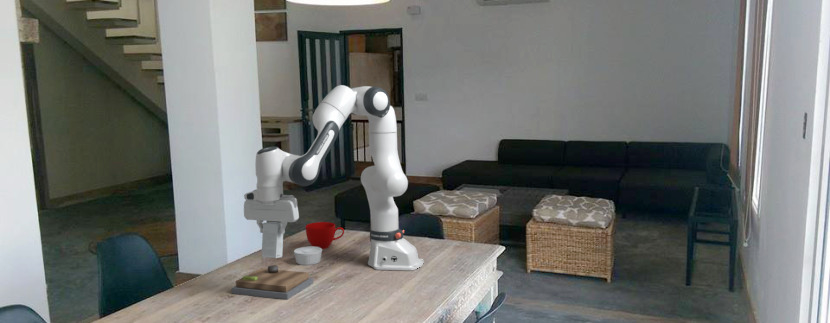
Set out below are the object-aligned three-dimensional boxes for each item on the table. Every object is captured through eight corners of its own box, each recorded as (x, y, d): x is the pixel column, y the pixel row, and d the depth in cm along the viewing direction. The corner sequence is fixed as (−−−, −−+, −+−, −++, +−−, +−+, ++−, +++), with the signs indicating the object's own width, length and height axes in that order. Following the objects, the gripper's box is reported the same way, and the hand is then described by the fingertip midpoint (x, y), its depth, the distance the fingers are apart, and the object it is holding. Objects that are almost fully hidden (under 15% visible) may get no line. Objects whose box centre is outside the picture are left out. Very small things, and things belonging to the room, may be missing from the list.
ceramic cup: (342, 250, 271) (342, 228, 270) (303, 251, 272) (302, 228, 270) (346, 243, 284) (345, 221, 283) (309, 243, 285) (308, 222, 283)
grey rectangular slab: (313, 283, 228) (312, 277, 228) (287, 299, 211) (287, 293, 211) (260, 278, 235) (260, 272, 235) (232, 293, 218) (231, 287, 218)
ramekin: (289, 264, 252) (288, 252, 251) (304, 257, 262) (303, 245, 262) (313, 267, 248) (312, 254, 247) (327, 259, 258) (326, 247, 258)
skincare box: (282, 257, 220) (284, 223, 220) (276, 258, 216) (277, 223, 216) (267, 255, 222) (269, 221, 222) (260, 257, 218) (262, 222, 218)
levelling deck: (309, 278, 227) (308, 267, 226) (286, 292, 212) (285, 280, 211) (261, 273, 233) (260, 262, 233) (235, 286, 218) (235, 275, 218)
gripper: (301, 193, 216) (303, 232, 218) (250, 191, 223) (252, 229, 225) (291, 196, 210) (293, 237, 212) (240, 194, 217) (242, 233, 219)
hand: (272, 233), depth 218 cm, fingers closed on skincare box, 6 cm apart
